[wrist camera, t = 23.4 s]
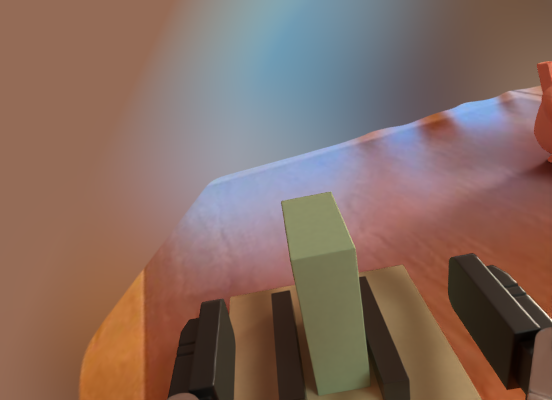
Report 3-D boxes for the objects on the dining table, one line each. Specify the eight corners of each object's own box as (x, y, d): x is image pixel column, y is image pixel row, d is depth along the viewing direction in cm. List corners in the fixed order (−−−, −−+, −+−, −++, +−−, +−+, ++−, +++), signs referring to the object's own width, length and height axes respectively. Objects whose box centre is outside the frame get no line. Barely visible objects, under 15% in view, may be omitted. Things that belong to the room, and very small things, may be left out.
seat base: (224, 501, 23) (208, 466, 21) (233, 309, 37) (224, 279, 36) (502, 453, 22) (507, 413, 21) (403, 277, 37) (402, 246, 35)
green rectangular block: (318, 396, 26) (290, 260, 21) (305, 319, 32) (280, 200, 27) (371, 386, 26) (355, 247, 21) (347, 311, 32) (331, 191, 27)
